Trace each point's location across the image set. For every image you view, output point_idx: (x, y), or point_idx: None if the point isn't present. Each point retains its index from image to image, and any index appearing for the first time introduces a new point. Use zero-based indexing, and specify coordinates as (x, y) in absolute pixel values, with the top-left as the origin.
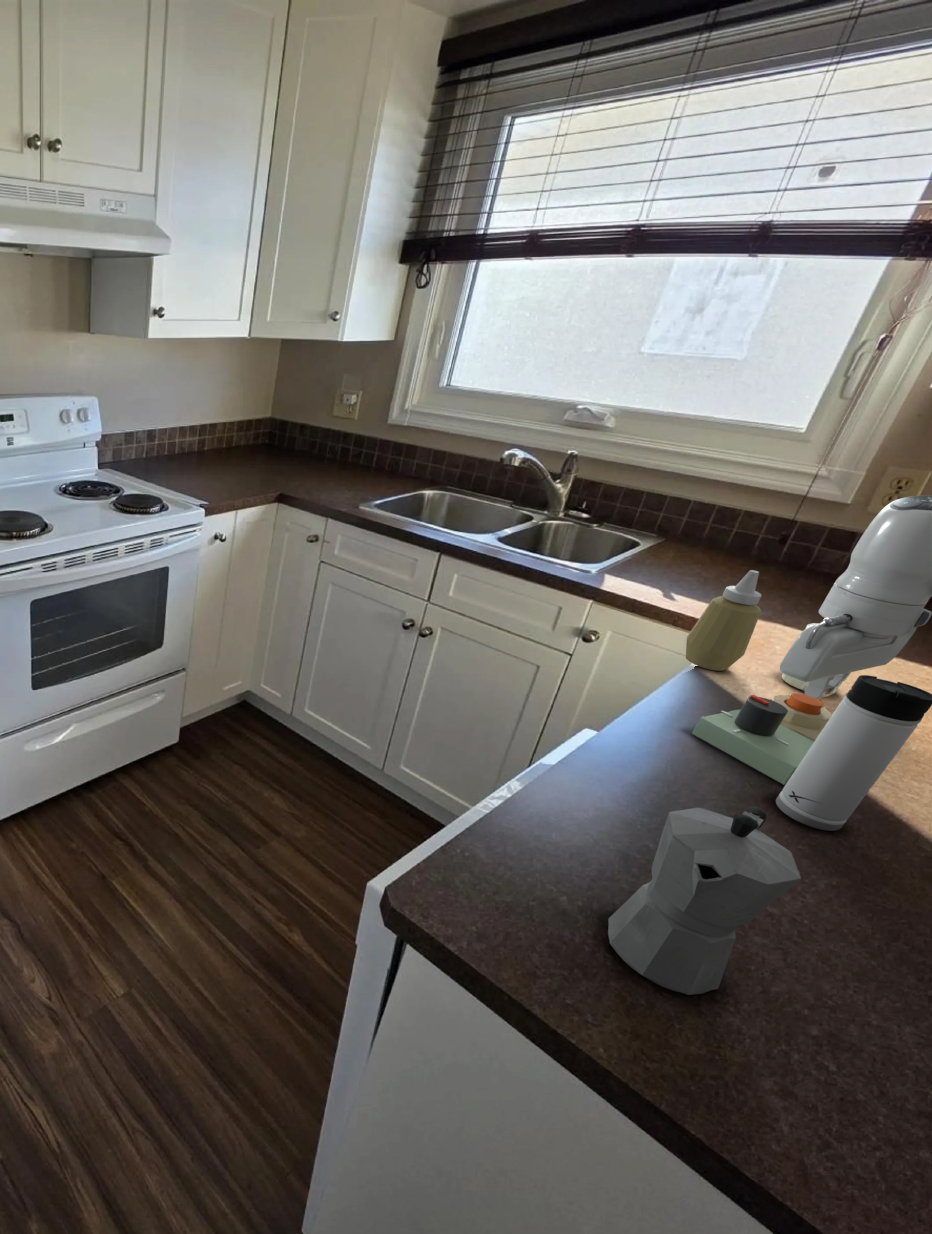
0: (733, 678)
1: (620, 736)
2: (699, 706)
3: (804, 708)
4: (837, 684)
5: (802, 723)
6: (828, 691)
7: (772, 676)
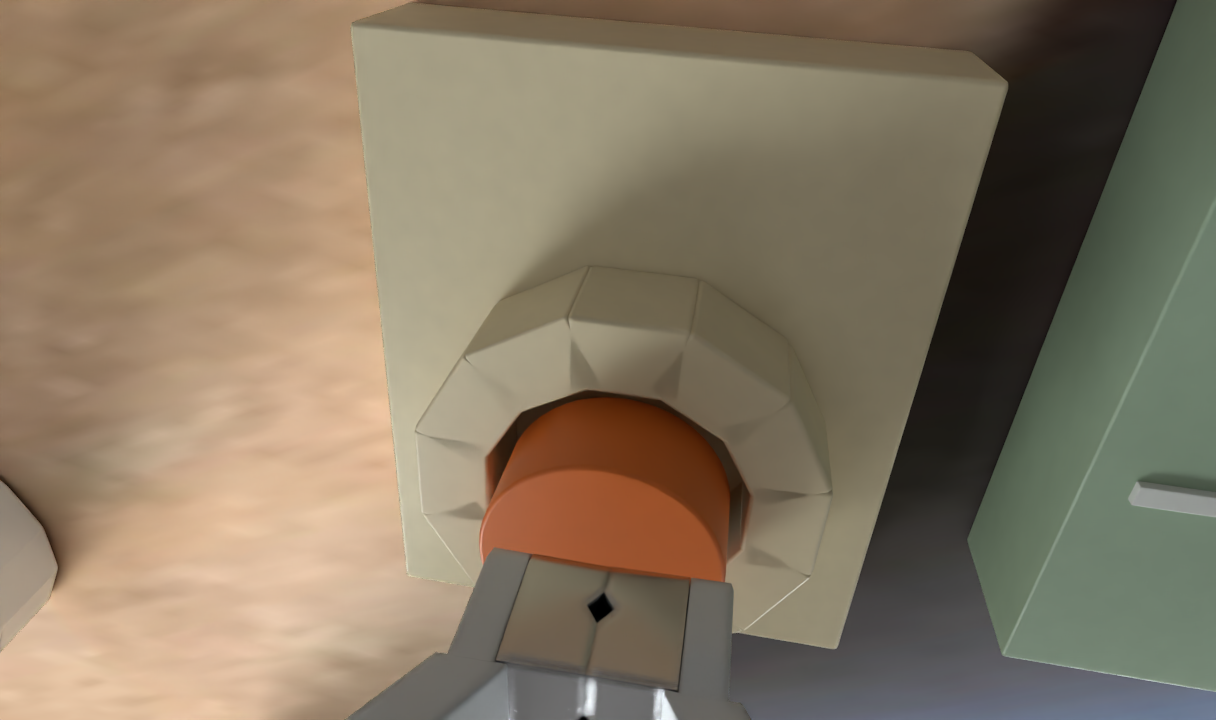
0: (330, 703)
1: None
2: (926, 697)
3: (721, 500)
4: (447, 689)
5: (803, 380)
6: (580, 625)
7: (73, 627)
